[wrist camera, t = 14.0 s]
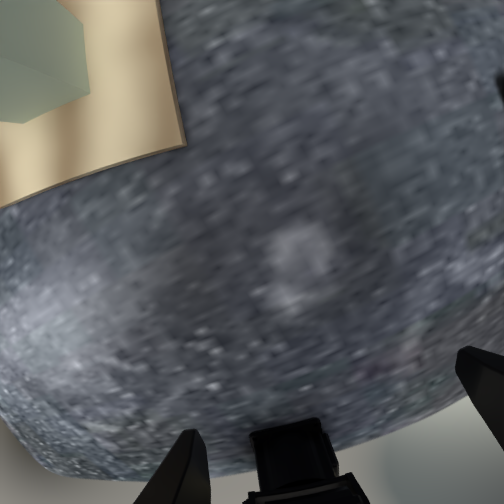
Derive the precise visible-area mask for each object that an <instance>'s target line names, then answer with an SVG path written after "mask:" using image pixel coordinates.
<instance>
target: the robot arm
mask: <svg viewBox="0 0 504 504" xmlns="http://www.w3.org/2000/svg"><path fill="white" fill-rule="evenodd" d="M455 371H456V374H457V376H458V377H459V379H460V381H461V383H462V385H463V387H464V388H465V390H466V392H467V394H468V396H469V398H470V399H471V401H472V403H473V404H474V406H475V408H476V409H477V411H478V412H479V414H480V415H481V416H482V418H483V420H484V421H485V423H486V424H487V426H488V427H489V429H490V430H491V432H492V433H493V435H494V436H495V438H496V439H497V441H498V443H499V444H500V446H501V447H502V449H503V451H504V356H502V355H499V354H495V353H492V352H489V351H485V350H482V349H479V348H475V347H472V346H465V347H463V348H461V349H460V350H459V351H458V353H457V359H456V365H455ZM315 423H316V424H315ZM254 437H256V438H254ZM249 439H250V442H251V445H252V448H253V451H254V453H255V459H256V466H257V473H258V480H259V487H260V492H255V491H252V492H248V499H246V501H244V502H242V504H370V502H369V500H368V498H367V496H366V495H365V493H364V492H363V490H362V488H361V487H360V485H359V484H358V482H357V480H356V479H355V477H354V475H353V474H352V472H350V473H346V474H345V475H342V476H339V463H338V460H337V458H336V455H335V452H334V450H333V447H332V444H331V442H330V439H329V436H328V434H326V433H323V434H322V428H321V422H320V420H319V419H312V420H308V421H304V422H300V423H296V424H292V425H288V426H283V427H279V428H274V429H270V430H265V431H260V432H255V433H251V434H250V435H249ZM133 504H211V487H210V478H209V469H208V461H207V452H206V446H205V443H204V441H203V439H202V438H201V436H200V434H199V432H198V430H197V429H186V430H184V431H182V433H181V434H180V436H179V437H178V439H177V440H176V442H175V443H174V445H173V446H172V448H171V449H170V451H169V452H168V454H167V455H166V457H165V458H164V460H163V461H162V463H161V464H160V466H159V467H158V469H157V470H156V472H155V473H154V474H153V476H152V477H151V479H150V480H149V482H148V483H147V485H146V486H145V488H144V489H143V491H142V492H141V493H140V495H139V496H138V498H137V499H136V500H135V502H134V503H133Z"/></svg>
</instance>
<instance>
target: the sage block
mask: <svg viewBox="0 0 504 504" xmlns="http://www.w3.org/2000/svg"><path fill="white" fill-rule="evenodd" d="M89 94H90V87H89V79H88V71H87V63H86V53H85V43H84V31H83V24H82V23H81V22H80V21H79V20H78V19H77V18H76V17H75V16H73V15H72V14H71V13H70V12H69V11H68V10H67V9H66V8H64V7H63V6H62V5H61V4H60V3H59V2H58V1H56V0H0V121H1V122H11V123H21V124H24V123H26V122H28V121H30V120H32V119H34V118H36V117H38V116H40V115H42V114H44V113H46V112H49V111H51V110H53V109H55V108H57V107H60V106H62V105H64V104H67V103H69V102H71V101H74V100H76V99H79V98H81V97H84V96H86V95H89Z"/></svg>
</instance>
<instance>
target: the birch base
mask: <svg viewBox="0 0 504 504" xmlns="http://www.w3.org/2000/svg"><path fill="white" fill-rule="evenodd" d="M56 1H58V2H59V3H60V4H61V5H62V6H63V7H64V8H66V9H67V10H68V11H69V12H70V13H71V14H72V15H73V16H75V17H76V18H77V19H78V20H79V21H80V22H81V23H82V24H83V31H84V43H85V53H86V63H87V71H88V79H89V87H90V94H89V95H86V96H84V97H81V98H79V99H76V100H74V101H71V102H69V103H67V104H64V105H62V106H60V107H57V108H55V109H53V110H51V111H49V112H46V113H44V114H42V115H40V116H38V117H36V118H34V119H32V120H30V121H28V122H26V123H24V124H21V123H11V122H1V121H0V209H1V208H4V207H8V206H11V205H13V204H15V203H18V202H20V201H22V200H25V199H27V198H30V197H32V196H34V195H37V194H39V193H42V192H44V191H47V190H49V189H52V188H55V187H57V186H60V185H63V184H65V183H68V182H71V181H73V180H76V179H79V178H82V177H85V176H88V175H91V174H93V173H96V172H99V171H102V170H105V169H109V168H112V167H115V166H118V165H121V164H124V163H128V162H131V161H134V160H138V159H141V158H145V157H148V156H152V155H155V154H159V153H162V152H166V151H170V150H174V149H178V148H182V147H186V146H187V142H186V137H185V132H184V128H183V123H182V118H181V113H180V109H179V104H178V99H177V94H176V89H175V84H174V79H173V74H172V68H171V63H170V58H169V52H168V47H167V42H166V36H165V30H164V25H163V19H162V13H161V7H160V1H159V0H56Z"/></svg>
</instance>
